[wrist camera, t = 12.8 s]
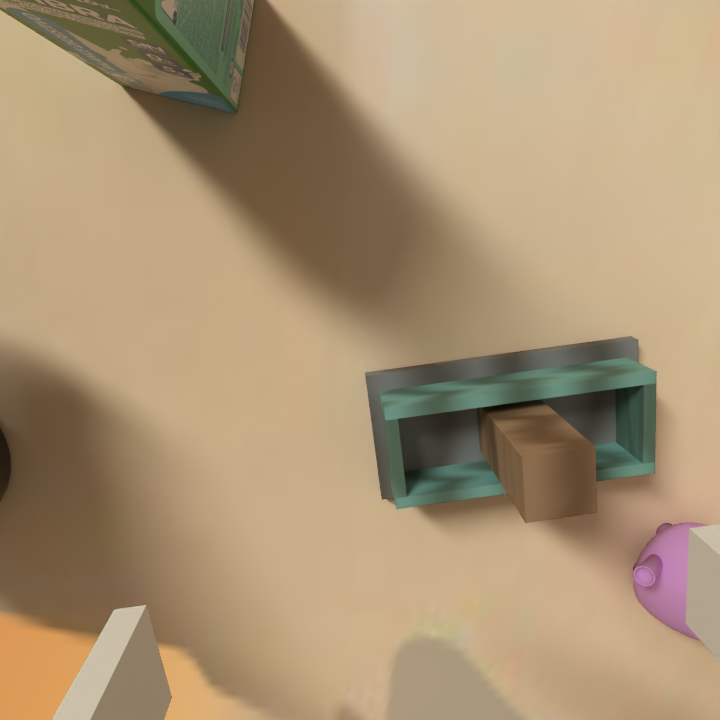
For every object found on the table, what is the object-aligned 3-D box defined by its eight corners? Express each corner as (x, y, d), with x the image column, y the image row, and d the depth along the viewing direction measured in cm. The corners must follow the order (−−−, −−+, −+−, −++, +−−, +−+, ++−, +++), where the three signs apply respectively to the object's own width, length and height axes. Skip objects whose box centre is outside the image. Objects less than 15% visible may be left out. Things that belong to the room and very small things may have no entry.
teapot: (698, 617, 56) (768, 693, 47) (576, 571, 54) (624, 642, 45) (753, 536, 54) (838, 600, 45) (628, 485, 52) (690, 541, 43)
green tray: (380, 493, 51) (386, 526, 45) (365, 372, 47) (369, 392, 42) (630, 458, 51) (666, 487, 45) (630, 336, 48) (669, 351, 42)
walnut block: (480, 450, 49) (525, 522, 37) (475, 399, 47) (521, 457, 36) (534, 442, 49) (596, 512, 37) (531, 391, 47) (595, 446, 36)
